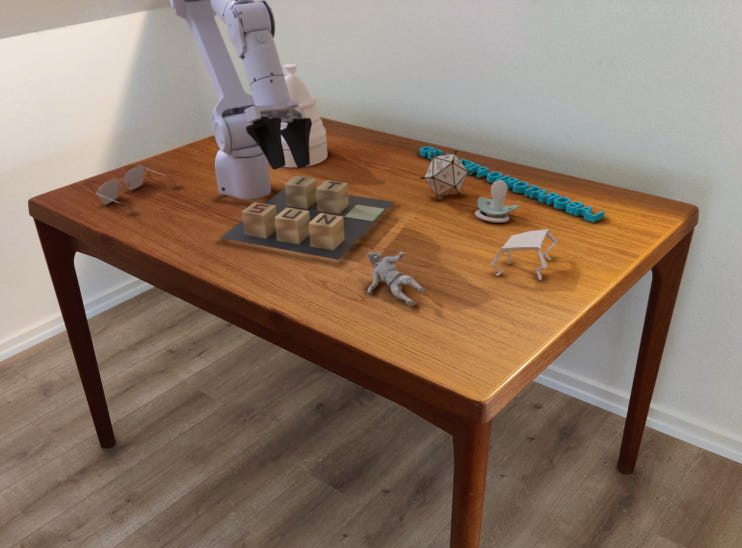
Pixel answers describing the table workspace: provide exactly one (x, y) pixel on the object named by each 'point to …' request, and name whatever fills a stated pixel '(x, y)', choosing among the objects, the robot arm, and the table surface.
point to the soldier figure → (392, 276)
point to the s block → (259, 220)
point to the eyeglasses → (111, 188)
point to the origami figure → (527, 246)
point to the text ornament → (524, 188)
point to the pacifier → (495, 204)
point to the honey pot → (308, 105)
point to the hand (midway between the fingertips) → (292, 167)
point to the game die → (446, 174)
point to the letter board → (305, 246)
